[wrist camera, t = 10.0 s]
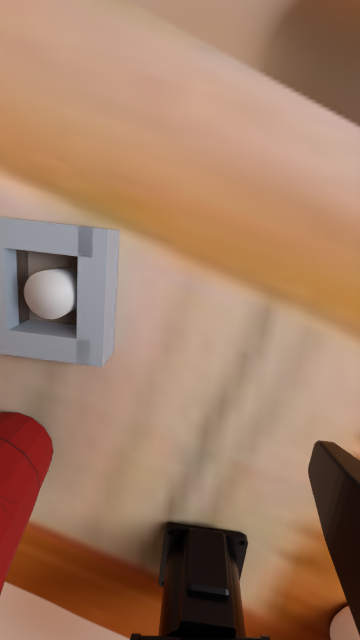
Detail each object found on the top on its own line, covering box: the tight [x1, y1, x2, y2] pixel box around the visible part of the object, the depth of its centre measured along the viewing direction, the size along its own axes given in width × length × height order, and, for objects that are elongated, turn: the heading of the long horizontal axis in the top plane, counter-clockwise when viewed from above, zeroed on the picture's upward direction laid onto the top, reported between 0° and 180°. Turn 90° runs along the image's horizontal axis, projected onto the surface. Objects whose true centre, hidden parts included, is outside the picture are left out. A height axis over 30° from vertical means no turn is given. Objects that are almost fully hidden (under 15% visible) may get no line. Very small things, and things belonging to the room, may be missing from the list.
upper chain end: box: [0, 217, 119, 367], centre depth 18 cm, size 8×14×2 cm, turn 84°
